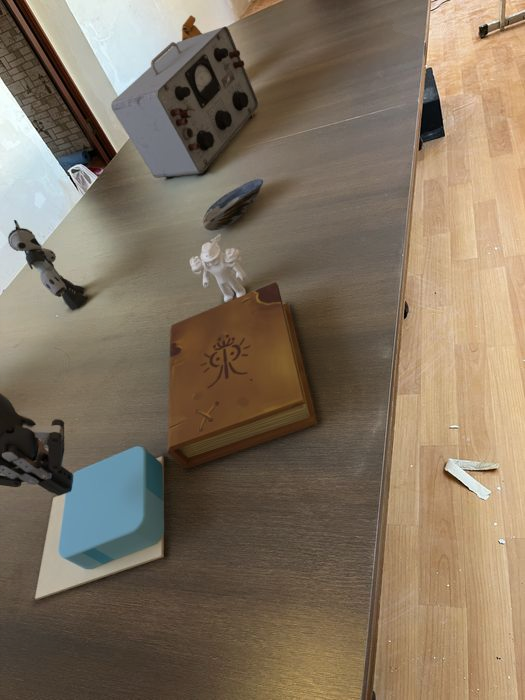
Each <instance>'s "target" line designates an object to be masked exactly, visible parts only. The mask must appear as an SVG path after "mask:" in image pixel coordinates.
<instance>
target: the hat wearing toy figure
mask: <svg viewBox="0 0 525 700" xmlns="http://www.w3.org/2000/svg"><path fill="white" fill-rule="evenodd" d="M221 235H222V234H221V233H218V234H217V236H215V237H214V238H212V239H210V242H205V243H204V244H202V246H201V250H200V252H201V253H200V255H199V256H197V255H195V256H192V257H191V258H190V259H189V265H190V267H191V271H192V272H191V273H194V274H196V275H201V274H202V273H203V274H202V285H203V288H204V289H207V288H208V287H209V284H210V274H211V275H213V276H214V277H215V280H216V283H217V285H218V287H219V289H220V291H221V293H222V294H223V301H224V303H226V302H228V301H231V300H233V299H234V296H235V297H236V298H238V297H240V296H243V295H245V294H247V290H246V289H245V287H244V286H243V285H241V284H240V283H239V282H238V279H240V280H241V282H242V283H244V282H245V281H246V280H247V273H246V272H245V271H244V270H243V269H242V267H241V265H240V264H239V263H238V262H236V261H239V262H240V261H242V256H241V254H240V251H239V249H237V248H235V247H232V246H231V248H229V247H228V248H226V249H225V250H224V252H222V250H221V247H220V245H218V244H219V243H218V242H219V241H221V240H222V239H221V238H222V236H221ZM238 257H239V258H238ZM202 268H203V269H202ZM232 269H233V271H235V272H236V273H235V274H234V273H233V272H232ZM198 270H199V271H198ZM202 270H203V271H202ZM196 271H197V272H196ZM228 284H229V286H230V287H231V288H230V287H229V286H228Z"/></svg>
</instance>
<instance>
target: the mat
mask: <svg viewBox="0 0 525 700" xmlns="http://www.w3.org/2000/svg"><path fill="white" fill-rule="evenodd" d="M155 458H156V459H157V460H158V461H159V462H160V463H161V464H162V469H163V506H164V507H165V457H164V456H163V455H161V456H159V457H155ZM65 496H66V494H63V495H60V496H58V495H56V496H53V497H52V503H51V510H50V514H49V519H48V525H47V530H46V535H45V542H44V547H43V553H42V556H41V557H42V558H41V564H40V568H39V575H38V579H37V584H36V589H35V590H36V591H35V595H34V599H35V600H37V601H39V600H41V599H44V598H47V597H50V596H51V597H52V596H53V595H56V594H59V593H63V592H65V591H69V590H71V589H74V588H77V587H80V586H83V585H86V584H88V583H92V582H94V581H98V580H100V579H102V578H106V577H109V576H112V575H115V574H118V573H121V572H124V571H127V570H130V569H133V568H136V567H139V566H141V565H144V564H147V563H150V562H153V561H156V560H159V559H163V558H164V556H165V555H164V554H165V553H164V550H165V547H164V546H165V545H164V544H165V543H164V542H165V541H164V540H165V539H164V538H165V537H164V535H165V534H164V533H165V531H164V532H163V535H162V537H161V539H160V540H159V541H158V542H157V543H156V544H154V545H152V546H149V547H146V548H144V549H141V550H139V551H136V552H133V553H131V554H128V555H125V556H123V557H120V558H118V559H115V560H112V561H110V562H107V563H105V564H102V565H99V566H97V567H94V568H91V569H84V568H82V567H80V566H78V565H76V564H74V563H72V562H70V561H68V560H66V559H64V558H62V557H61V556H60V554H59V551H58V549H59V541H60V533H61V526H62V518H63V511H64V504H65Z"/></svg>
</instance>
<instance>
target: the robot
mask: <svg viewBox="0 0 525 700" xmlns="http://www.w3.org/2000/svg"><path fill="white" fill-rule="evenodd" d="M13 222H14V225H15V227H14V229H13V230H11V231H10V232H9V233H8V238H7V239H8V244H9V246H10V248H11V249H13V250H14V251H16V252H18V251H19V252H24V254H25V260H26V262H27V264H28V266H29V268H30V269H31V270H34V268H35V269H37V271H38V272H39V278H40V281H41V283H42V285H43V286H44V287H45V288H46V289H47V290H48V291H49V292H50V293H51V294H52V295H53V296H55V297H58V298H60V297H61V298H62V299H63V301H64V303H65V304H66V305H67V307H68V308H69V309H70V310H71V311H75V310H78V309H80V308H82V307H83V306H84V305H85V304H86V303H87V301H88V298H89V297H88V296H86V295H85V294H84V291H85V288H84V287H83V286H81V285H78V284H74V283H73V282H71V281H70V280H68V279H66V278H64V276H63V275H61V274H59V272H58V271H57V270H56V268H55V266H54V264H53V263H54V262H55V261H56V259H57V255H56V253H55V252H54V251H53V250H51V249H48V248H45V247H42V246H43V245H42V244H41V243H40V242H39V241H38V240H37V239H36V236H35V235H34V233H33V231H31V230H30V229H28V228H24V227H20V225H19V223H18V221H17V219H14V220H13ZM33 267H34V268H33Z"/></svg>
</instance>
